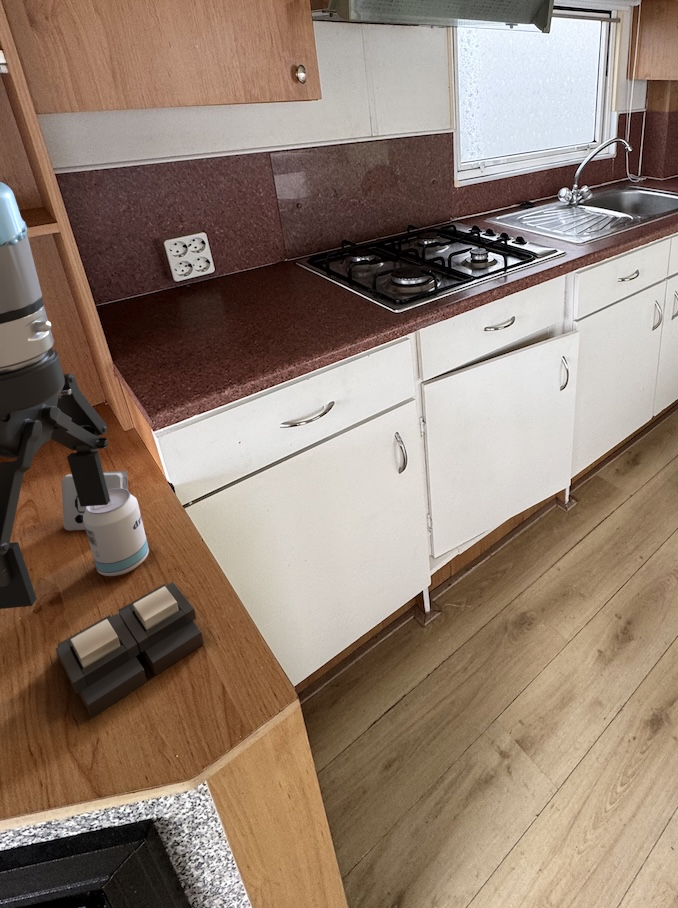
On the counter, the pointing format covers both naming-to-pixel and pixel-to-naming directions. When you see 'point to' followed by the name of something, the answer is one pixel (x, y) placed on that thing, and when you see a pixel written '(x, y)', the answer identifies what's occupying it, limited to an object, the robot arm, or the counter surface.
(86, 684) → the near key block
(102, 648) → the c key
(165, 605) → the e key
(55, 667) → the counter surface
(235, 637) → the counter surface
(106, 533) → the beverage can
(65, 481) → the electrical switch
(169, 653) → the far key block
